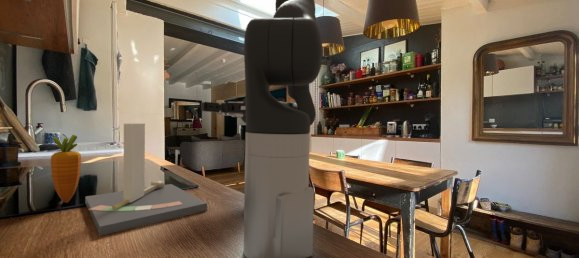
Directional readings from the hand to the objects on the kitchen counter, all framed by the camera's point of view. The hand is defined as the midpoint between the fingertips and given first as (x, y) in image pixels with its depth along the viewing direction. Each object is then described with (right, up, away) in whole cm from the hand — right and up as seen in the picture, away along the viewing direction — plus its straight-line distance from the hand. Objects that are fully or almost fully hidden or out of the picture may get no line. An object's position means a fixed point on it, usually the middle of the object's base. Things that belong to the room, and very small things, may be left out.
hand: (202, 106), depth 60 cm
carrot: (-28, -22, -5) cm, 36 cm away
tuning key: (-12, -20, -4) cm, 24 cm away
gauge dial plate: (-10, -22, -6) cm, 25 cm away
